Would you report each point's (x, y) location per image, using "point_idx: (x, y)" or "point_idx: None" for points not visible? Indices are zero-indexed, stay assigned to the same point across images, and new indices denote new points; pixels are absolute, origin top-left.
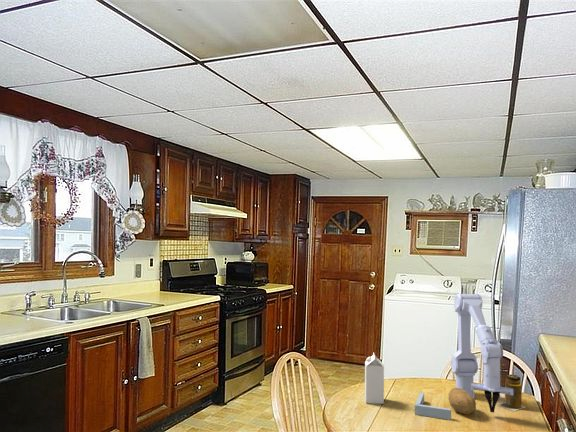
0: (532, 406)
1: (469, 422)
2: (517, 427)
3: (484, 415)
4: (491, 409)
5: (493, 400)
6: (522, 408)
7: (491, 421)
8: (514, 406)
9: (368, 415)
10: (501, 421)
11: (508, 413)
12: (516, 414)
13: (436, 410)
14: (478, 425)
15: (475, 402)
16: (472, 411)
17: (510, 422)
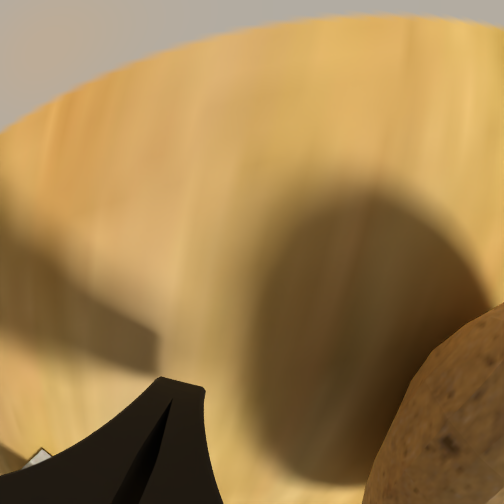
0: (3, 473)
1: (485, 145)
2: (11, 124)
3: (268, 387)
4: (181, 403)
5: (93, 499)
6: (23, 467)
7: (227, 222)
8: None
9: None
10: (111, 249)
11: (66, 428)
12: (24, 409)
13: None
14: (414, 64)
15: (431, 465)
16: (451, 337)
17: (39, 241)
